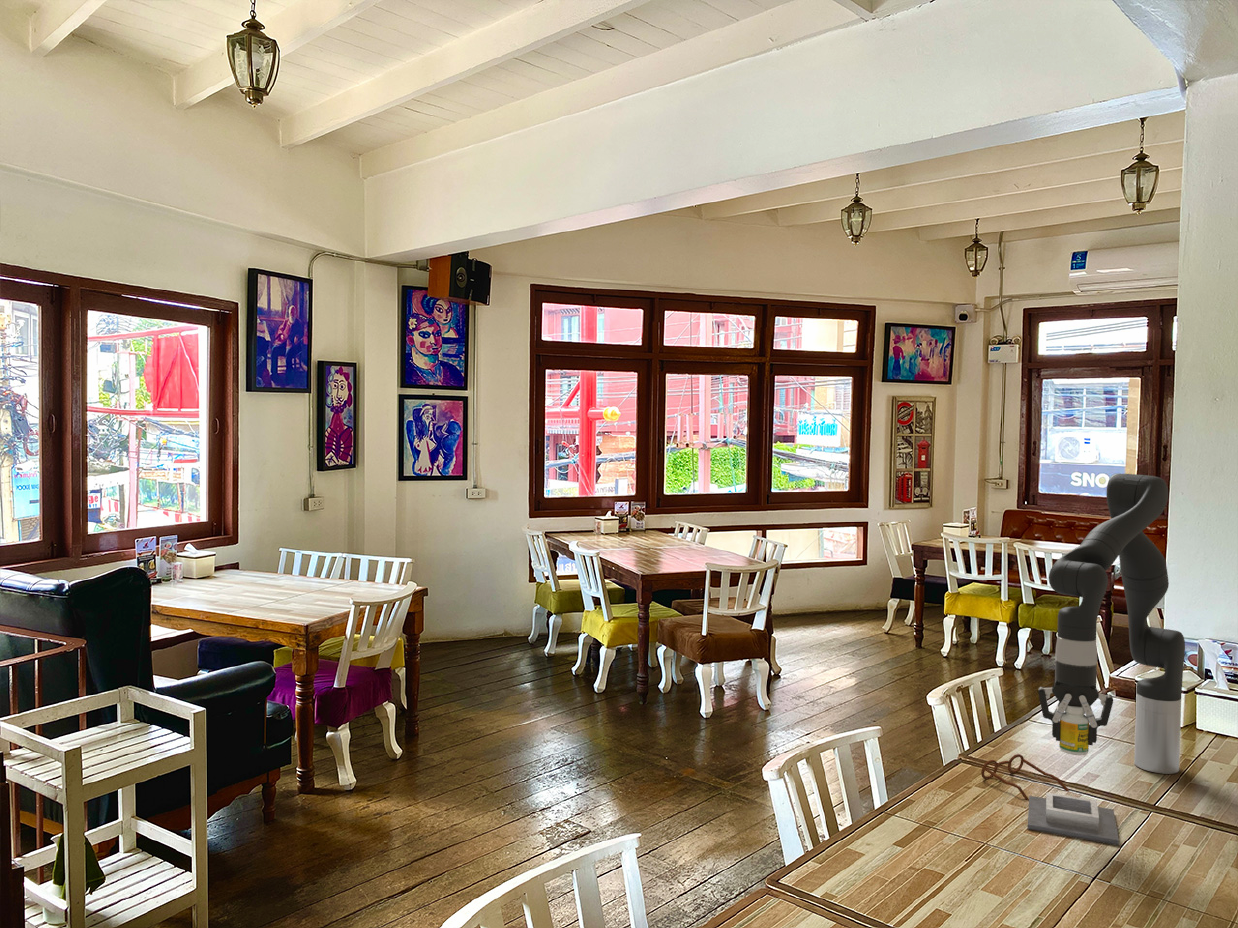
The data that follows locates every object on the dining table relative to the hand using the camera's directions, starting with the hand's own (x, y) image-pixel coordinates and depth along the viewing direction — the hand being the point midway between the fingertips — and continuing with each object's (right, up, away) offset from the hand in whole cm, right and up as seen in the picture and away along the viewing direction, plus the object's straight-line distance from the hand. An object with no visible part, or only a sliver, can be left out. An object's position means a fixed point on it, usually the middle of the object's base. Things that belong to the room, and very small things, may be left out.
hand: (1073, 741), depth 184 cm
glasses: (-1, -16, +20) cm, 26 cm away
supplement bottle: (0, -2, 0) cm, 2 cm away
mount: (0, -16, +1) cm, 16 cm away
